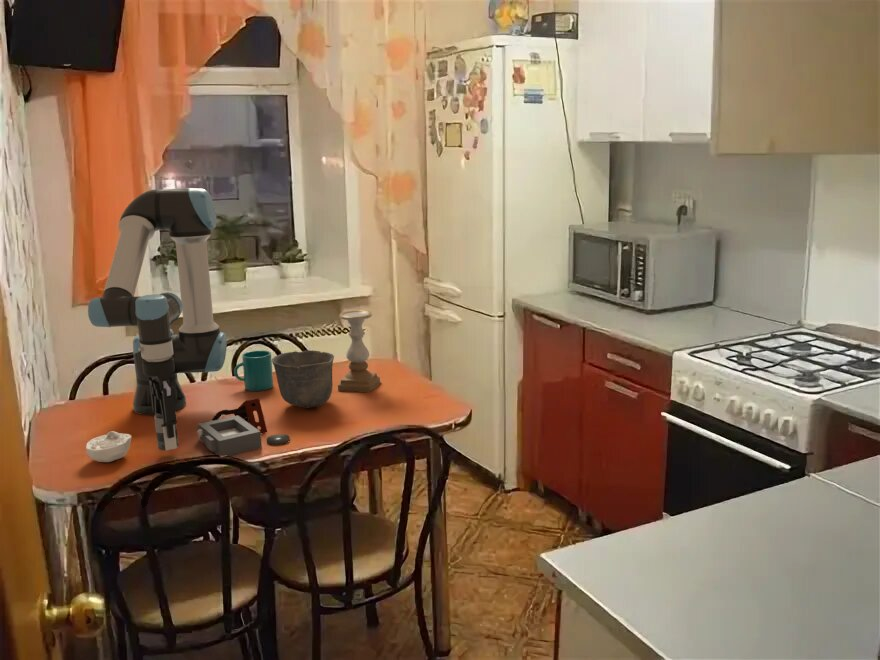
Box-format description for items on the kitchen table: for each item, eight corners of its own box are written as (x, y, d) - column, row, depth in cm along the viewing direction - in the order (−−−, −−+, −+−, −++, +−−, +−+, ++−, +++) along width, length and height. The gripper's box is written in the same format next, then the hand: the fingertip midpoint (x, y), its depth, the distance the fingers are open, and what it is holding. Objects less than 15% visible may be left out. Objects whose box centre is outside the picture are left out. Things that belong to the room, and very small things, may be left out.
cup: (234, 386, 270) (231, 353, 267) (271, 382, 274) (268, 349, 271) (237, 394, 262) (234, 360, 259) (275, 389, 266) (273, 355, 263)
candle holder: (380, 382, 271) (377, 310, 265) (370, 392, 260) (366, 317, 255) (348, 380, 273) (345, 309, 267) (337, 391, 263) (333, 317, 257)
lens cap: (263, 440, 222) (263, 437, 222) (284, 435, 225) (284, 432, 225) (272, 446, 217) (272, 443, 217) (293, 441, 220) (293, 438, 220)
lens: (155, 445, 213) (151, 412, 210) (175, 441, 215) (171, 408, 213) (161, 452, 209) (157, 418, 206) (181, 447, 211) (177, 413, 209)
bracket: (230, 440, 223) (221, 404, 225) (218, 450, 235) (210, 416, 237) (267, 432, 228) (259, 397, 230) (254, 442, 240) (246, 409, 242)
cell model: (77, 465, 208) (73, 440, 206) (111, 448, 219) (108, 424, 217) (109, 470, 204) (106, 444, 203) (142, 453, 215) (139, 428, 214)
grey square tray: (195, 440, 223) (193, 424, 222) (239, 430, 229) (237, 415, 228) (216, 458, 210) (214, 442, 209) (261, 447, 216) (260, 431, 215)
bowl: (295, 420, 237) (292, 369, 233) (264, 406, 250) (260, 357, 246) (347, 405, 248) (344, 357, 245) (314, 393, 261) (311, 346, 258)
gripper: (132, 352, 211) (143, 438, 217) (152, 369, 197) (163, 460, 203) (162, 347, 215) (171, 431, 221) (184, 363, 201) (193, 452, 207)
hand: (167, 445), depth 212 cm, fingers closed on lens, 5 cm apart
